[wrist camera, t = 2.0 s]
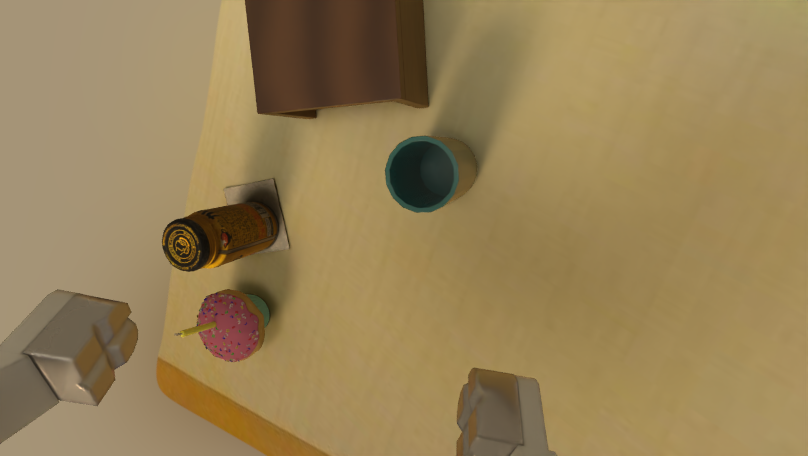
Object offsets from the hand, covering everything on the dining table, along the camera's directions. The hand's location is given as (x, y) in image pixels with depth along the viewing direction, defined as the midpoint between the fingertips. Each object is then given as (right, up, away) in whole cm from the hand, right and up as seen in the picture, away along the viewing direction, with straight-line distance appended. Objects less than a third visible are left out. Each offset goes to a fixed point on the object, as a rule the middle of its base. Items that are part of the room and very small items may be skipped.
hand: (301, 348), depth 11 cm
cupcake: (-16, -8, +46) cm, 50 cm away
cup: (+7, +9, +35) cm, 37 cm away
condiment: (-15, +4, +44) cm, 46 cm away
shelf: (-2, +21, +36) cm, 42 cm away
